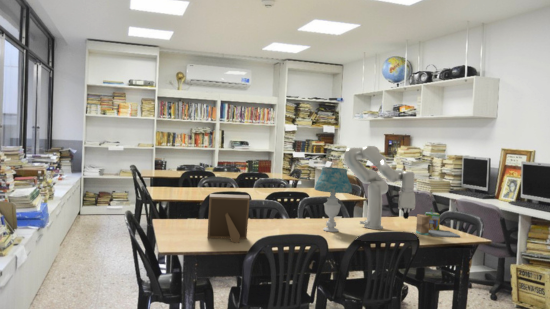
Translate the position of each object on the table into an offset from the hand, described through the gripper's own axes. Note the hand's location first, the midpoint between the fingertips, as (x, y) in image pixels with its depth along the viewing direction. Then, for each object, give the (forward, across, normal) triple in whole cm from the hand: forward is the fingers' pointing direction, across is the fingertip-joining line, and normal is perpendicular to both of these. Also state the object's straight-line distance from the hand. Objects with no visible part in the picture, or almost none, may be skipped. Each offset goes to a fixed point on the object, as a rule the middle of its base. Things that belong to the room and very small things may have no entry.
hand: (405, 218), depth 304 cm
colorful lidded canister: (+10, +25, +15) cm, 31 cm away
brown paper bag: (+10, +12, 0) cm, 15 cm away
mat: (+10, +25, 0) cm, 27 cm away
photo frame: (+10, -115, -35) cm, 121 cm away
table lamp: (+10, -49, 0) cm, 50 cm away
